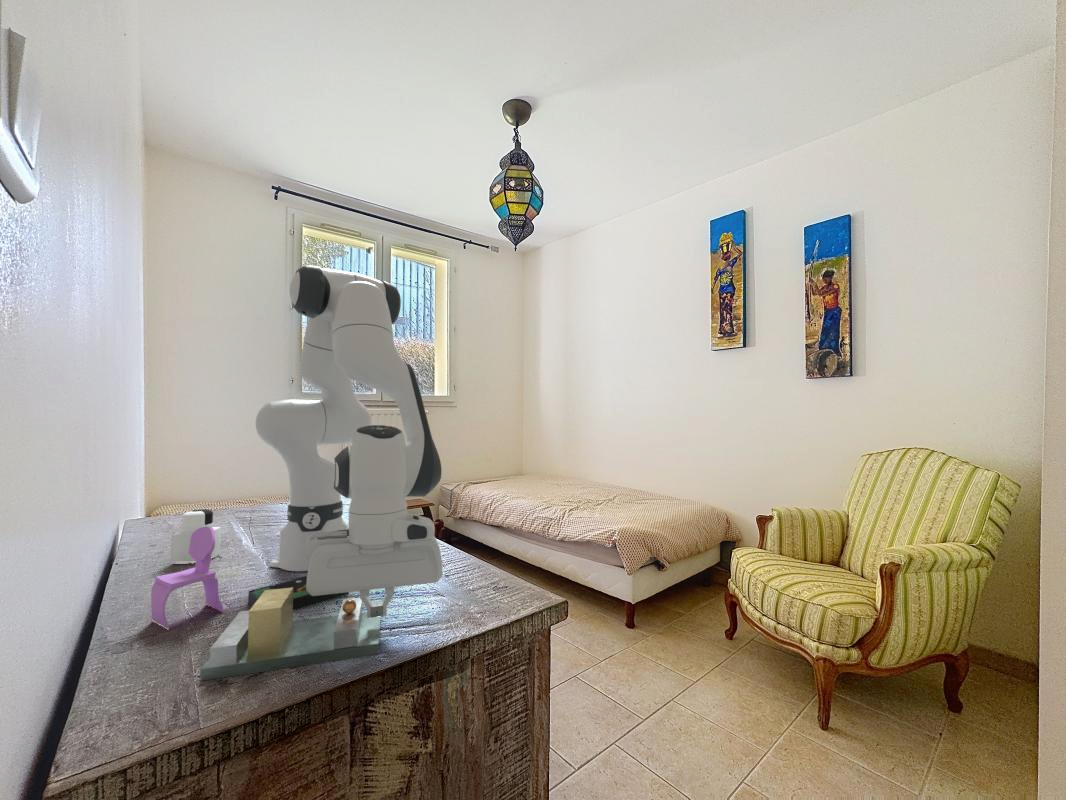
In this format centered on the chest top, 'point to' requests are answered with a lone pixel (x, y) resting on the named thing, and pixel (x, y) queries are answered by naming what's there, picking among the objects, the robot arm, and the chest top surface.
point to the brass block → (270, 621)
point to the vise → (287, 647)
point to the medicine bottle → (189, 525)
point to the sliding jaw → (348, 623)
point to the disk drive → (294, 593)
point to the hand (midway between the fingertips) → (376, 615)
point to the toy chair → (189, 576)
